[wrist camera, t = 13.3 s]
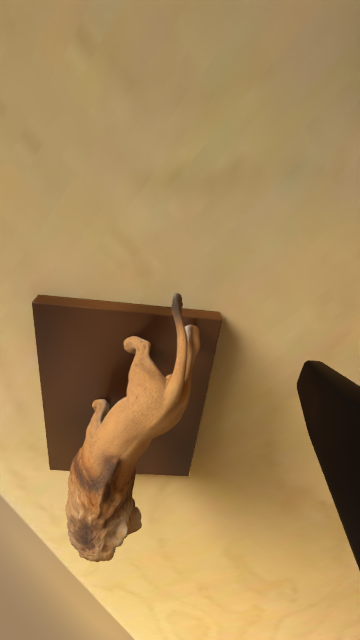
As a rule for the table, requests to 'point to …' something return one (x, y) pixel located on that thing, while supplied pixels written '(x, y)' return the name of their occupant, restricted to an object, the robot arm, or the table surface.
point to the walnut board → (114, 372)
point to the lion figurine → (125, 444)
